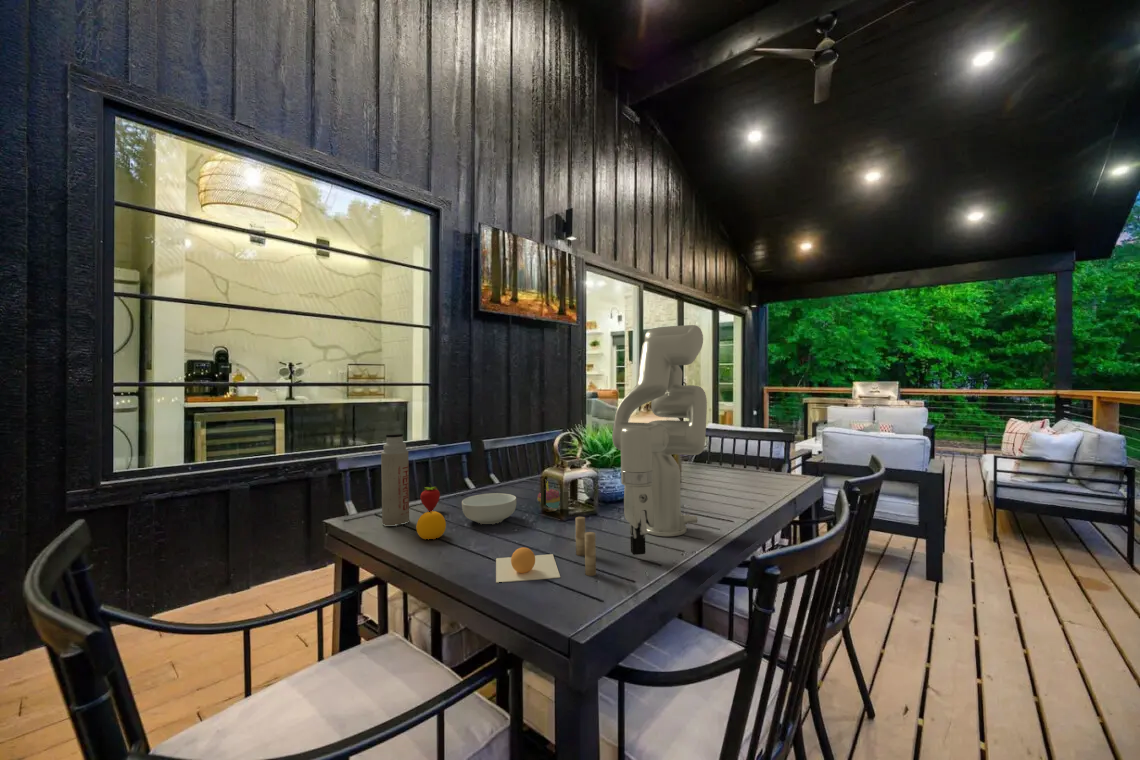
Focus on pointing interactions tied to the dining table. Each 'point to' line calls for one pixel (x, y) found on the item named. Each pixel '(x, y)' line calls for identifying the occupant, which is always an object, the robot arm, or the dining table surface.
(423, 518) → the orange round fruit
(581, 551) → the post
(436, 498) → the strawberry
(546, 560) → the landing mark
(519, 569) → the ball
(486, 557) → the dining table surface
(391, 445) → the thermos bottle
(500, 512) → the cereal bowl
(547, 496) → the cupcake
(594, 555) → the post
